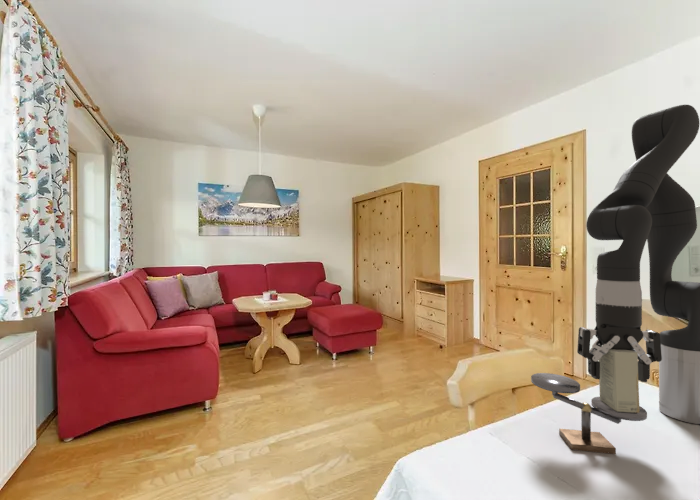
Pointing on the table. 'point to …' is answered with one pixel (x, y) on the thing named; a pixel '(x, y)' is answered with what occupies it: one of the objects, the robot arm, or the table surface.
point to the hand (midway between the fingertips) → (618, 379)
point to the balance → (584, 414)
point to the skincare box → (620, 380)
